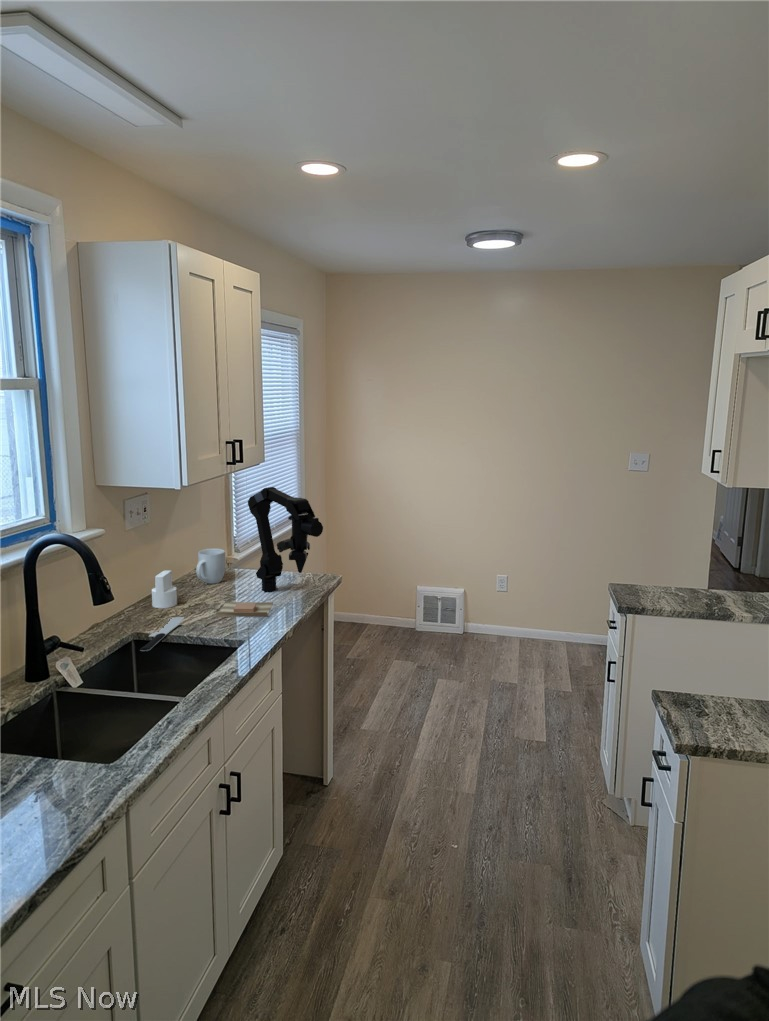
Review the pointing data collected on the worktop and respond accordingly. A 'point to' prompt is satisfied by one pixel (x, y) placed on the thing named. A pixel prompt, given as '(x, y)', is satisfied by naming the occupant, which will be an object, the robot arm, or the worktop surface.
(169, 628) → the kitchen cleaver
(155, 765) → the worktop surface
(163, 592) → the base with upright slab
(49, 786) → the worktop surface
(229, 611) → the board
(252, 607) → the tile
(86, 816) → the worktop surface
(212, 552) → the mug
